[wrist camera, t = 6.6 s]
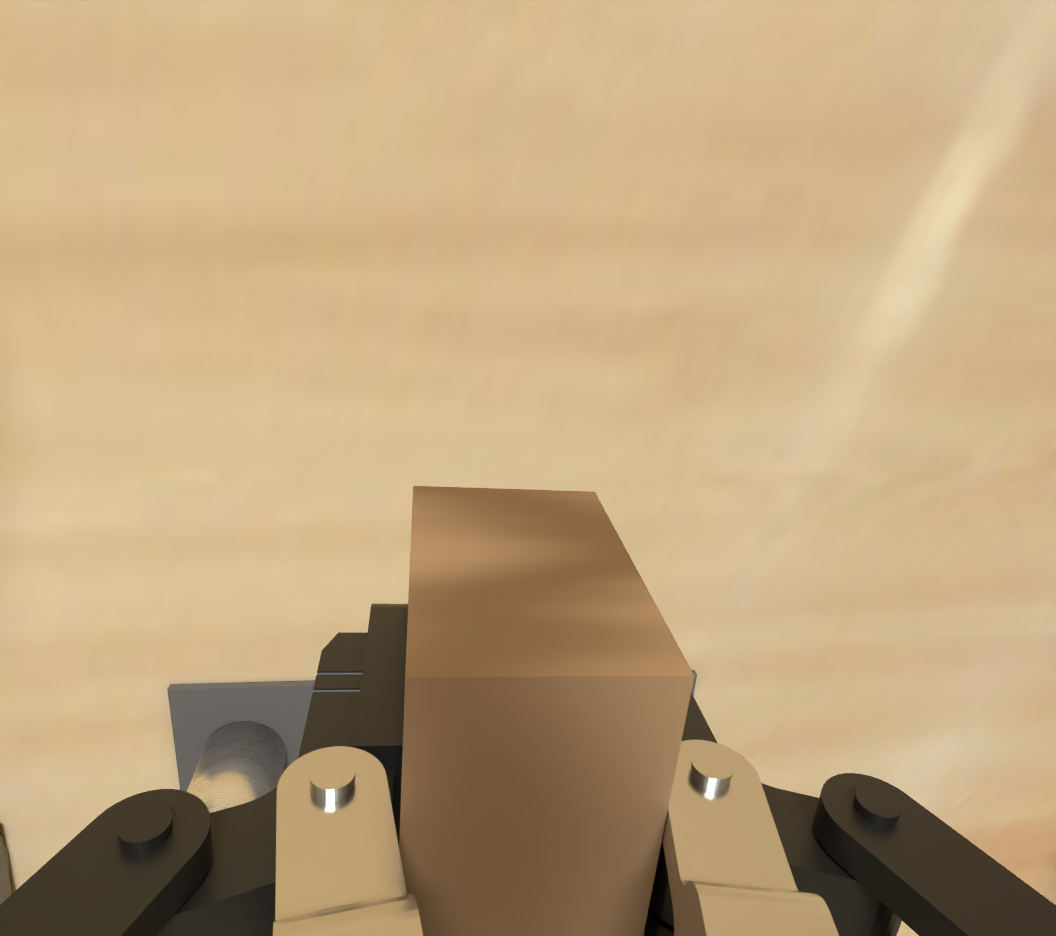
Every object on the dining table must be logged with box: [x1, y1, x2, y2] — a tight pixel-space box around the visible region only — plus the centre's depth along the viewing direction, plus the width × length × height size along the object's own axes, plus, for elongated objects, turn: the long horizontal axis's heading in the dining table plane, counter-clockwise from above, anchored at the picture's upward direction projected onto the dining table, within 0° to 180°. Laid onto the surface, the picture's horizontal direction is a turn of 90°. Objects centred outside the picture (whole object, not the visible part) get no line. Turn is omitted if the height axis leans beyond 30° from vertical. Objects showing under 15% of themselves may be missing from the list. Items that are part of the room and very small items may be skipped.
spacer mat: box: [168, 670, 697, 792], centre depth 32 cm, size 20×20×1 cm
